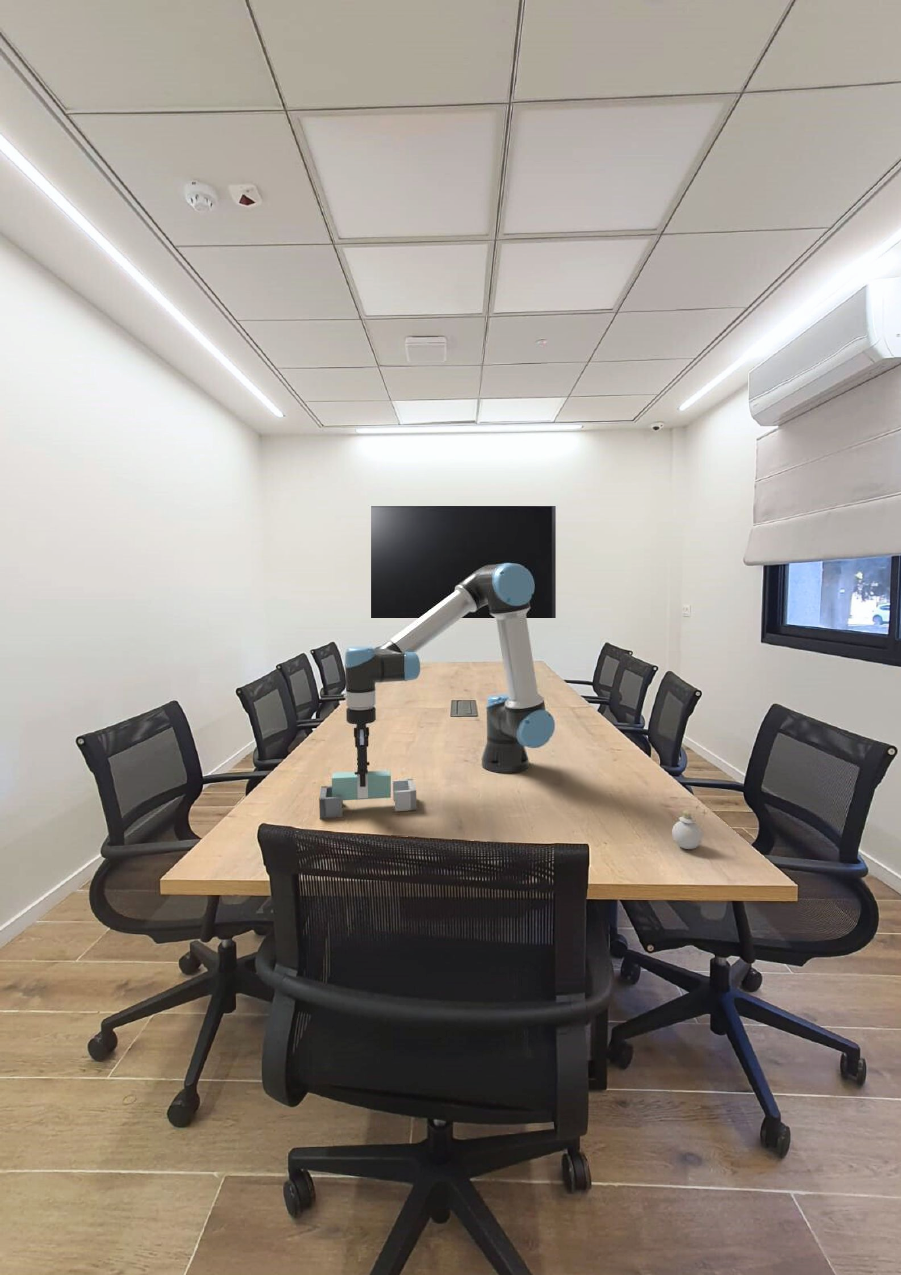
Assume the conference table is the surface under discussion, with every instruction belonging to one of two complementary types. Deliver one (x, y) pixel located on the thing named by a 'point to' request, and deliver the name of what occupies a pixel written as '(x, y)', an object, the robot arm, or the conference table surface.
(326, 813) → the cap
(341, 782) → the block
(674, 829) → the ornament
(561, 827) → the conference table surface
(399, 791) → the sliding cap
